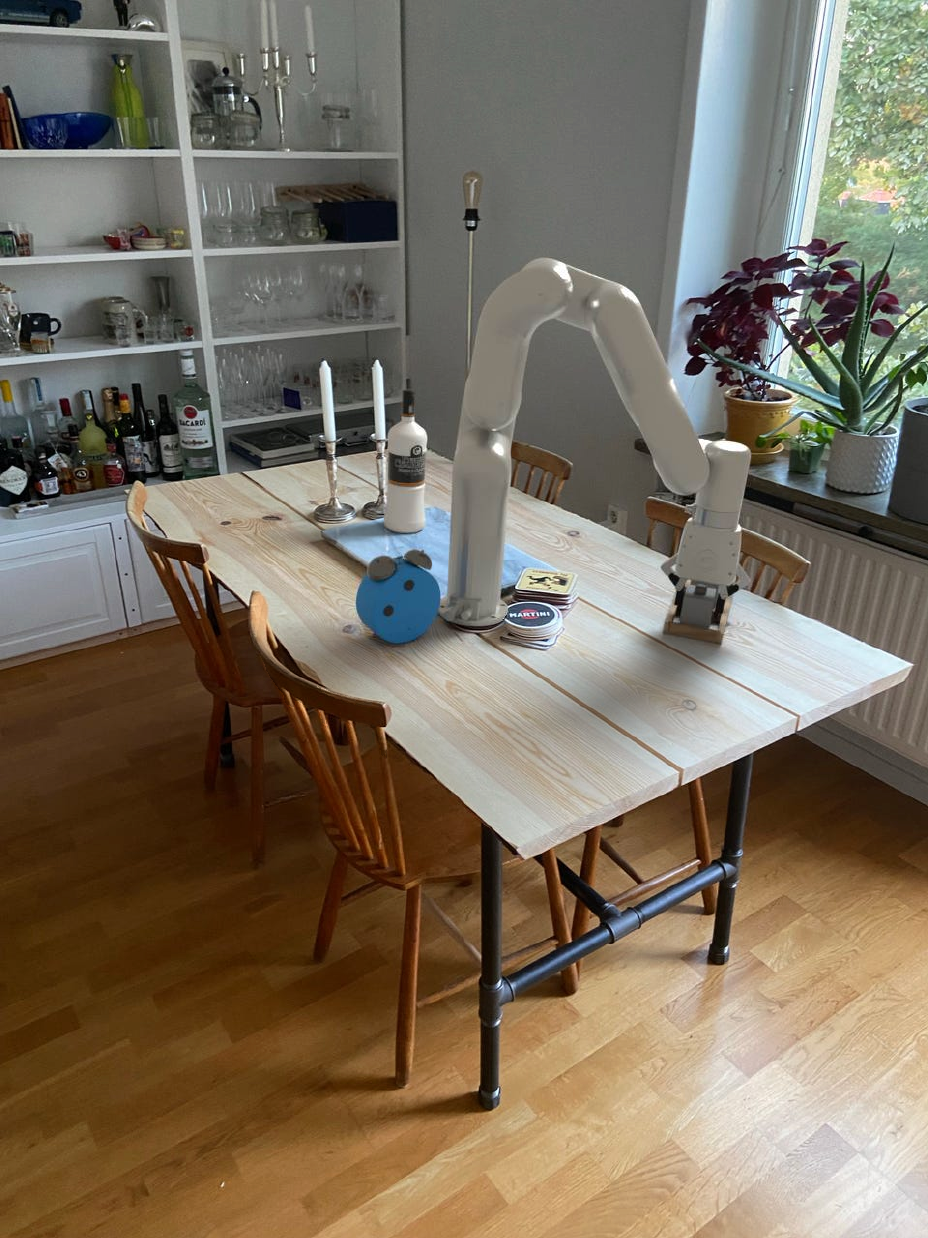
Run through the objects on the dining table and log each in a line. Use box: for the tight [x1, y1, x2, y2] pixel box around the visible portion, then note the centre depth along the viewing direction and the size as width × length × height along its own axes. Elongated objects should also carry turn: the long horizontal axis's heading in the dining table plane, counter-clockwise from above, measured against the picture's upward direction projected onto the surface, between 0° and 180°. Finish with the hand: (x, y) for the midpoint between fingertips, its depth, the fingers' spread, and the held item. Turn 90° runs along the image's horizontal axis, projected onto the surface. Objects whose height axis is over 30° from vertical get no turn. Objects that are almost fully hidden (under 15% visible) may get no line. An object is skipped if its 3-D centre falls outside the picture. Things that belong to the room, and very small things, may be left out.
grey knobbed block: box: [690, 580, 719, 609], centre depth 168 cm, size 6×5×8 cm
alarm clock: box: [355, 549, 442, 644], centre depth 148 cm, size 13×6×15 cm, turn 125°
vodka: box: [383, 388, 428, 534], centre depth 193 cm, size 9×9×30 cm
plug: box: [679, 584, 716, 629], centre depth 160 cm, size 6×5×8 cm
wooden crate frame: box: [662, 576, 737, 645], centre depth 169 cm, size 28×10×3 cm, turn 160°
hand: (697, 611), depth 160 cm, fingers open, 5 cm apart
